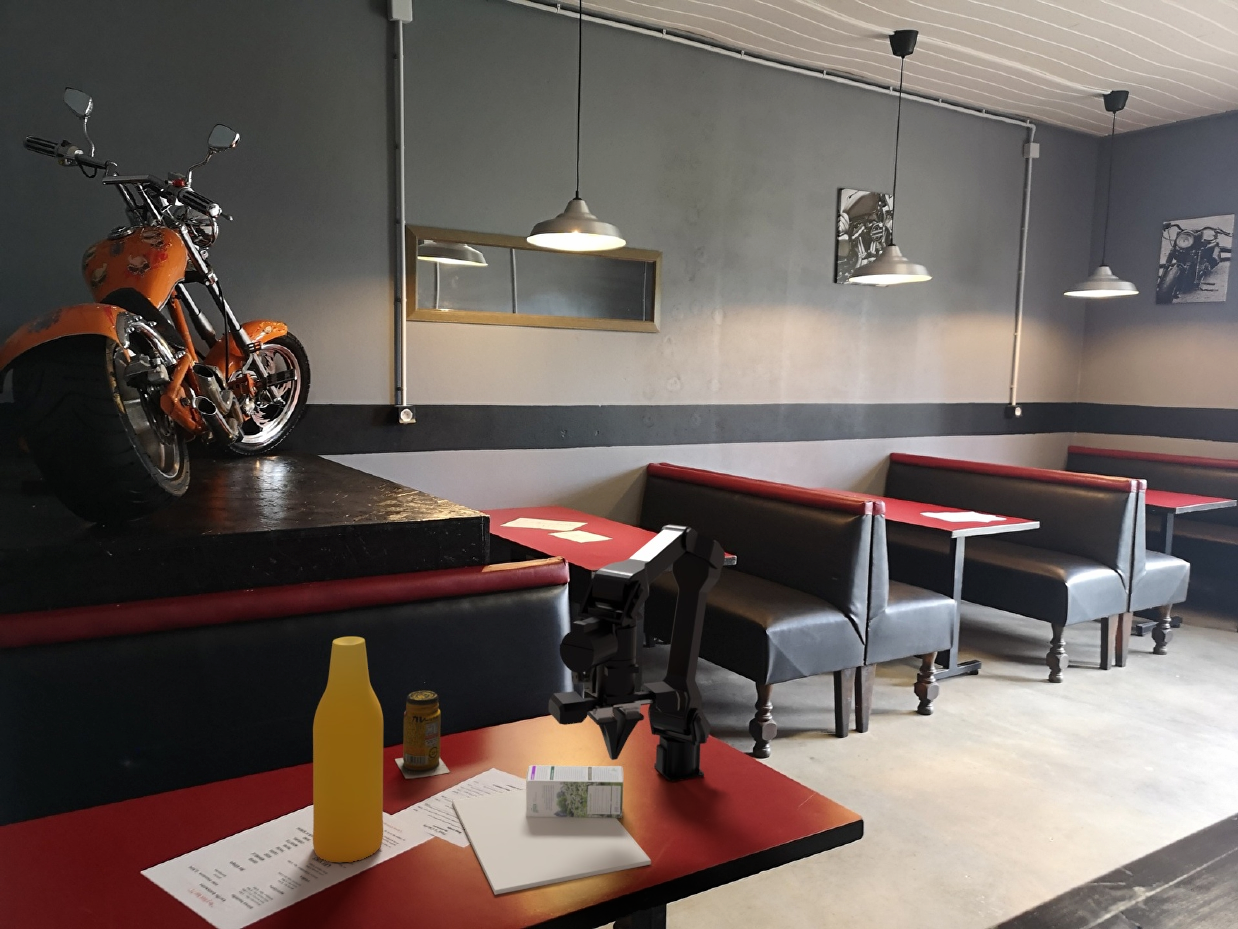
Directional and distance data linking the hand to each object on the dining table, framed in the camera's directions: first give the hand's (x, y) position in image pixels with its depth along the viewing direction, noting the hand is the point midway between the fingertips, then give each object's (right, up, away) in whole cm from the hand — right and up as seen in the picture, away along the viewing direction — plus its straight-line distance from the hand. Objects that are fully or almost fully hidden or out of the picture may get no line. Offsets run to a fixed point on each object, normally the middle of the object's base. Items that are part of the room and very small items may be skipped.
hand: (613, 758), depth 131 cm
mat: (-10, -10, -3) cm, 14 cm away
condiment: (-32, -8, +18) cm, 38 cm away
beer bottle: (-36, -10, -9) cm, 39 cm away
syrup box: (+2, -6, +3) cm, 7 cm away
